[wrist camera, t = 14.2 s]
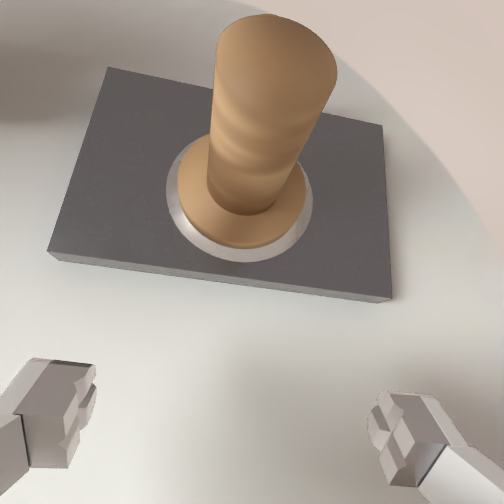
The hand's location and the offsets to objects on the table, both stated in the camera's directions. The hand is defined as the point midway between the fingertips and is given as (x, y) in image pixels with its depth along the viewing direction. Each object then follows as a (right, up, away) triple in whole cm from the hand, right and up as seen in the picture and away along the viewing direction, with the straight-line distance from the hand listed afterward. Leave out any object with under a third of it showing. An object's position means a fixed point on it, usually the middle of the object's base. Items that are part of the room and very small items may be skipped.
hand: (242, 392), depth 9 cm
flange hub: (0, +8, +9) cm, 12 cm away
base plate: (0, +8, +11) cm, 14 cm away
